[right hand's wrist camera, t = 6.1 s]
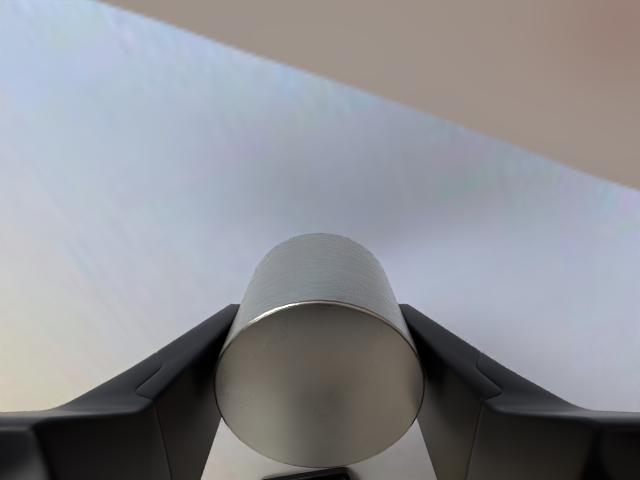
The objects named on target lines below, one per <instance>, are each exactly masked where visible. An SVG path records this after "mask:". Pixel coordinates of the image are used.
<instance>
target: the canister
mask: <svg viewBox="0 0 640 480" xmlns="http://www.w3.org/2000/svg"><path fill="white" fill-rule="evenodd" d="M213 386H214V395H215V400H216V404H217V407H218V410H219V412H220V414H221V416H222V418H223V420H224V422H225V423H226V425H227V426H228V427H229V429H230V430H231V431H232V432H233V433H234V434H235V435H236V436H237V437H238V438H239V439H240V440H241V441H242V442H243V443H245V444H246V445H247V446H248V447H250V448H251V449H253V450H255V451H256V452H258V453H260V454H262V455H264V456H266V457H268V458H270V459H273V460H276V461H279V462H282V463H285V464H290V465H294V466H300V467H309V468H331V467H338V466H345V465H349V464H353V463H357V462H360V461H363V460H366V459H368V458H370V457H373V456H375V455H377V454H379V453H381V452H382V451H384V450H386V449H387V448H389V447H390V446H391V445H393V444H394V443H395V442H397V441H398V440H399V439H400V438H401V437H402V436H403V435H404V434H405V433H406V432H407V431H408V429H409V428H410V427H411V426H412V424H413V422H414V421H415V419H416V417H417V416H418V414H419V411H420V409H421V406H422V403H423V398H424V394H425V374H424V368H423V365H422V361H421V358H420V356H419V354H418V351H417V349H416V346H415V344H414V341H413V339H412V337H411V334H410V332H409V329H408V327H407V325H406V322H405V320H404V317H403V315H402V312H401V310H400V308H399V305H398V303H397V300H396V298H395V295H394V293H393V291H392V288H391V286H390V283H389V281H388V279H387V276H386V274H385V272H384V270H383V268H382V266H381V265H380V263H379V261H378V260H377V259H376V258H375V257H374V256H373V254H372V253H370V252H369V251H368V250H367V249H366V248H364V247H363V246H361V245H360V244H358V243H356V242H354V241H352V240H350V239H348V238H345V237H342V236H338V235H333V234H324V233H315V234H306V235H301V236H297V237H294V238H291V239H289V240H287V241H285V242H282V243H281V244H279V245H278V246H276V247H275V248H273V249H272V250H271V251H270V252H269V253H267V255H266V256H265V257H264V258H263V259H262V260H261V262H260V263H259V265H258V266H257V268H256V270H255V272H254V274H253V276H252V279H251V281H250V283H249V286H248V288H247V290H246V293H245V295H244V298H243V300H242V302H241V305H240V307H239V309H238V312H237V314H236V317H235V319H234V321H233V324H232V326H231V329H230V331H229V333H228V336H227V338H226V340H225V343H224V345H223V348H222V350H221V352H220V355H219V357H218V360H217V363H216V367H215V371H214V379H213Z"/></svg>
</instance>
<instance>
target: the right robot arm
mask: <svg viewBox="0 0 640 480" xmlns="http://www.w3.org/2000/svg"><path fill="white" fill-rule="evenodd" d="M240 305H241V304H230V305H229V306H227V307H225V308H224V309H222V310H221V311H219V312H218V313H216V314H215V315H213V316H211V317H210V318H208V319H207V320H205V321H204V322H202V323H201V324H199V325H198V326H196V327H194V328H193V329H191V330H190V331H188V332H187V333H185V334H184V335H182V336H180V337H179V338H177V339H176V340H174V341H173V342H171V343H170V344H168V345H167V346H165V347H163V348H162V349H160V350H159V351H157V353H154V354H152V355H151V356H149V357H148V358H146V359H145V360H143V361H141V362H140V363H138V364H137V365H135V366H133V367H132V368H130V369H128V370H126V371H125V372H123V373H121V374H119V375H118V376H116V377H114V378H112V379H110V380H109V381H107V382H105V383H103V384H101V385H100V386H98V387H96V388H94V389H92V390H90V391H89V392H87V393H85V394H83V395H81V396H80V397H78V398H76V399H74V400H72V401H70V402H68V403H66V404H64V405H61V406H59V407H56V408H52V409H48V410H43V411H23V412H0V480H201V477H202V474H203V471H204V468H205V465H206V462H207V459H208V456H209V453H210V450H211V447H212V444H213V441H214V438H215V435H216V432H217V429H218V426H219V423H220V420H221V417H222V416H221V414H220V412H219V410H218V407H217V404H216V400H215V395H214V386H213V379H214V371H215V367H216V363H217V360H218V357H219V355H220V352H221V350H222V348H223V345H224V343H225V340H226V338H227V336H228V333H229V331H230V329H231V326H232V324H233V321H234V319H235V317H236V314H237V312H238V309H239V307H240ZM398 305H399V308H400V310H401V312H402V315H403V317H404V320H405V322H406V325H407V327H408V329H409V332H410V334H411V337H412V339H413V341H414V344H415V346H416V349H417V351H418V354H419V356H420V358H421V361H422V365H423V368H424V374H425V394H424V398H423V403H422V406H421V409H420V411H419V414H418V416H417V420H418V423H419V426H420V429H421V432H422V435H423V438H424V441H425V444H426V447H427V450H428V453H429V456H430V459H431V462H432V465H433V468H434V471H435V474H436V477H437V480H640V413H639V412H613V411H594V410H588V409H585V408H581V407H578V406H576V405H573V404H571V403H569V402H567V401H565V400H563V399H561V398H559V397H558V396H556V395H554V394H552V393H550V392H549V391H547V390H545V389H543V388H541V387H540V386H538V385H536V384H534V383H532V382H531V381H529V380H527V379H525V378H523V377H522V376H520V375H518V374H516V373H515V372H513V371H511V370H509V369H508V368H506V367H504V366H503V365H501V364H499V363H498V362H496V361H495V360H493V359H491V358H490V357H488V356H487V355H485V354H484V353H481V352H480V351H479V350H477V349H476V348H474V347H473V346H471V345H470V344H468V343H467V342H465V341H464V340H462V339H461V338H459V337H457V336H456V335H454V334H453V333H451V332H450V331H448V330H447V329H445V328H444V327H442V326H441V325H439V324H438V323H436V322H434V321H433V320H431V319H430V318H428V317H427V316H425V315H424V314H422V313H421V312H419V311H418V310H416V309H414V308H413V307H411V306H410V305H408V304H398ZM264 480H352V479H351V475H350V472H349V469H348V468H346V467H337V468H331V469H325V470H319V471H312V472H306V473H300V474H294V475H288V476H281V477H275V478H269V479H264Z"/></svg>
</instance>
